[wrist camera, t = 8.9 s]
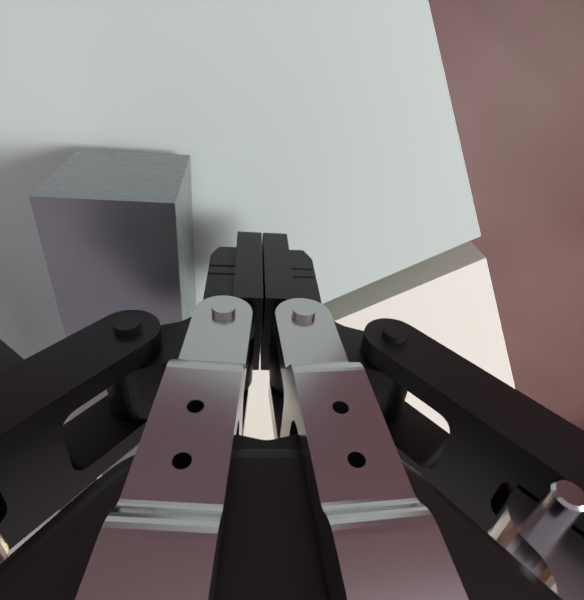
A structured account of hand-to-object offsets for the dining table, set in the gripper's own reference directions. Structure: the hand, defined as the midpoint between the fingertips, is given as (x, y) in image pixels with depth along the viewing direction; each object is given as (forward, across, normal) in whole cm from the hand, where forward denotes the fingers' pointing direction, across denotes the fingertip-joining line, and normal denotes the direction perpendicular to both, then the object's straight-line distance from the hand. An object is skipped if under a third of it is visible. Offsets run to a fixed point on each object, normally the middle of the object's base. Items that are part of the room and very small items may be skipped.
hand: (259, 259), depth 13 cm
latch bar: (+1, +4, +4) cm, 6 cm away
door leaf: (+6, +4, -1) cm, 7 cm away
